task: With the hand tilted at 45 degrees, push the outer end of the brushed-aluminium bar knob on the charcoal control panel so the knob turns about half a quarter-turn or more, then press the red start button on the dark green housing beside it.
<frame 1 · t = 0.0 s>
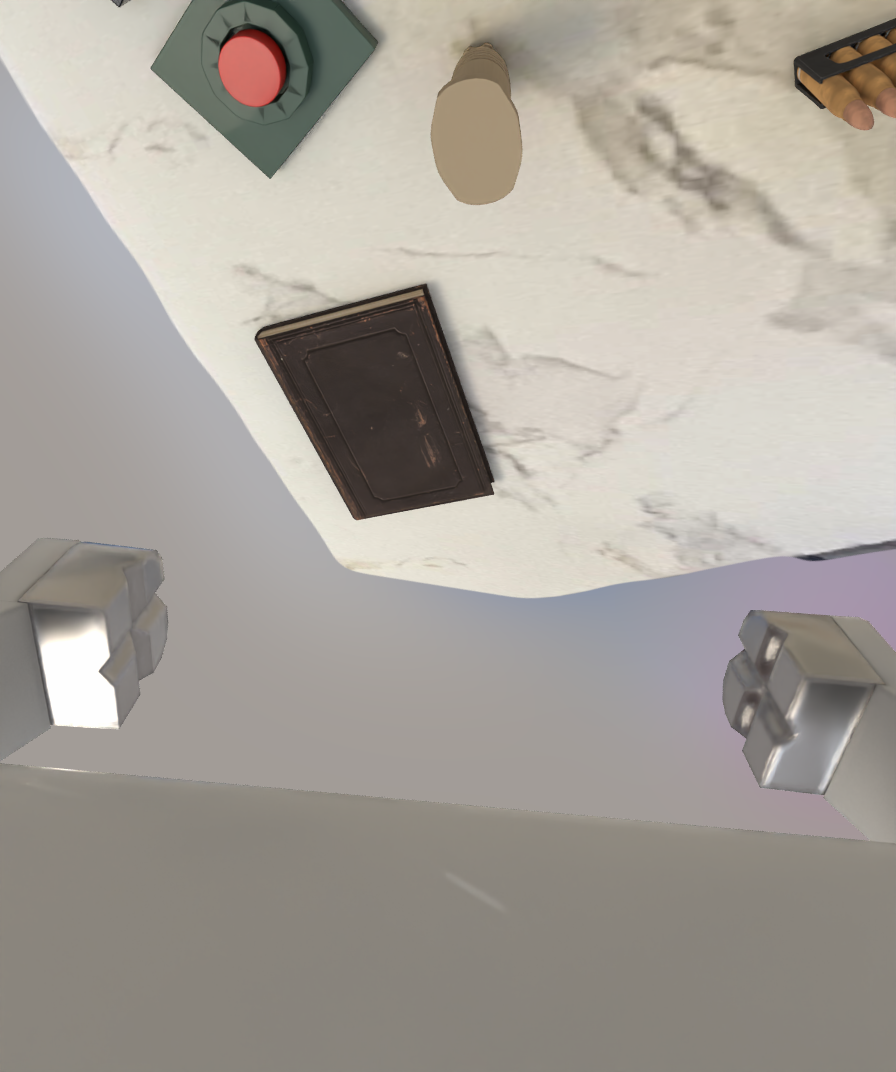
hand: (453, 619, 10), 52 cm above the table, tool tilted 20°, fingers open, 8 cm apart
button: (252, 68, 48), point 4 cm above the table, slide at 0.1 cm
ammunition clip: (879, 39, 48), on the table
hardcover book: (385, 409, 72), on the table
button box: (266, 52, 50), on the table
handle: (481, 67, 51), on the table
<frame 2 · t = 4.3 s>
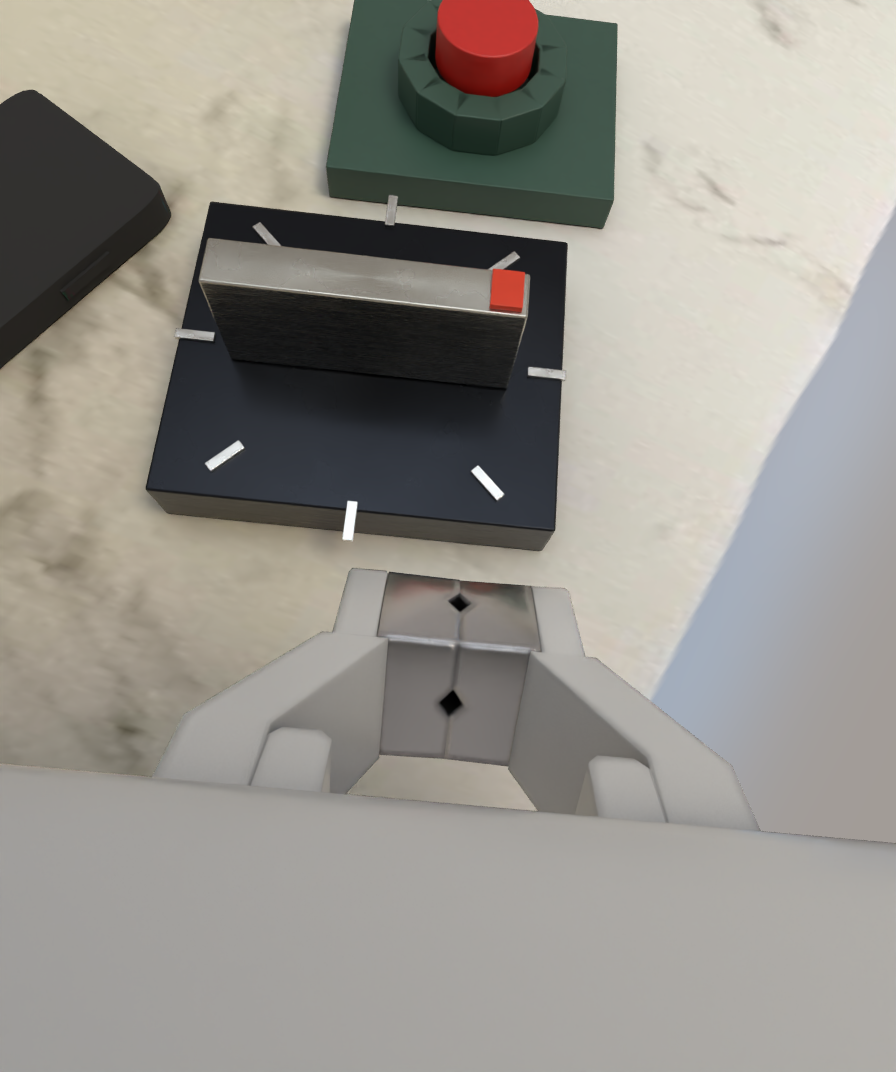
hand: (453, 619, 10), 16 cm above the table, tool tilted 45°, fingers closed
button: (485, 40, 30), point 4 cm above the table, slide at 0.1 cm
control panel: (374, 389, 29), on the table
button box: (475, 123, 33), on the table
knob: (369, 317, 24), point 5 cm above the table, hinge at 0.0°
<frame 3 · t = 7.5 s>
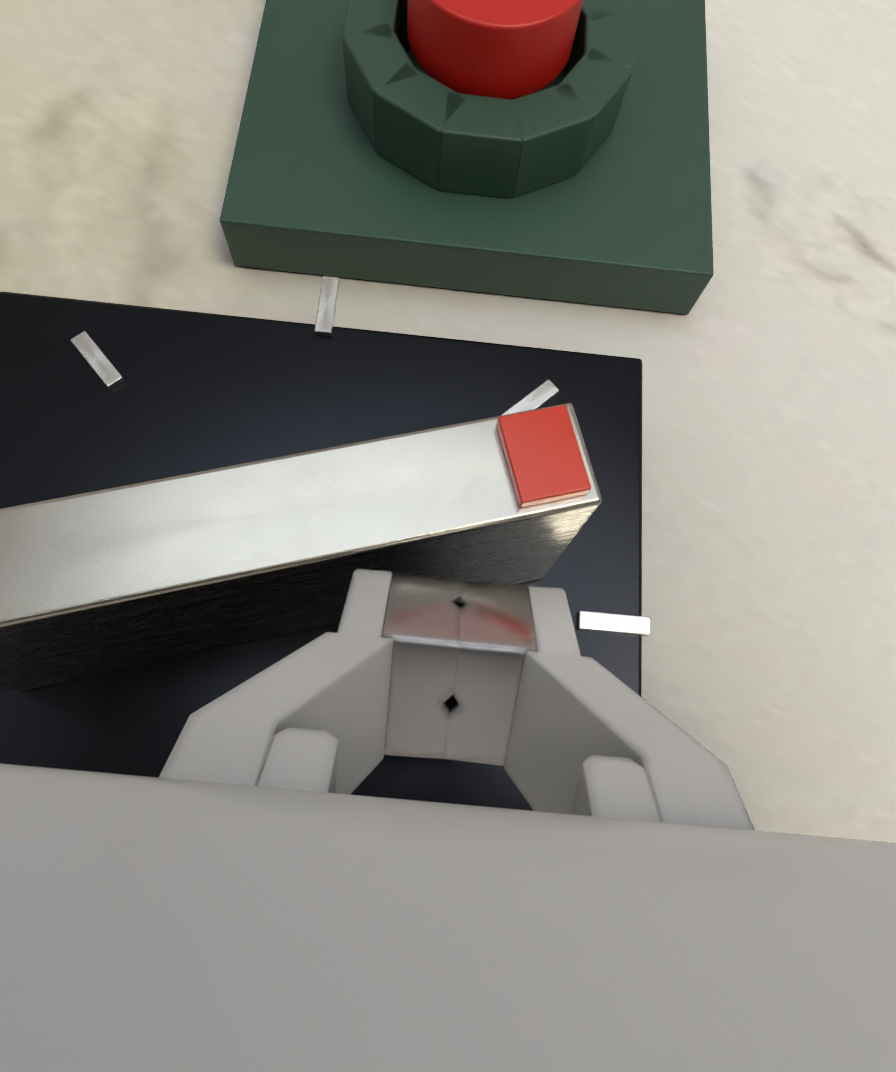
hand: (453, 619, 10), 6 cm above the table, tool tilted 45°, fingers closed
control panel: (301, 617, 16), on the table
button box: (476, 140, 21), on the table
knob: (261, 561, 12), point 5 cm above the table, hinge at 18.1°, touching gripper
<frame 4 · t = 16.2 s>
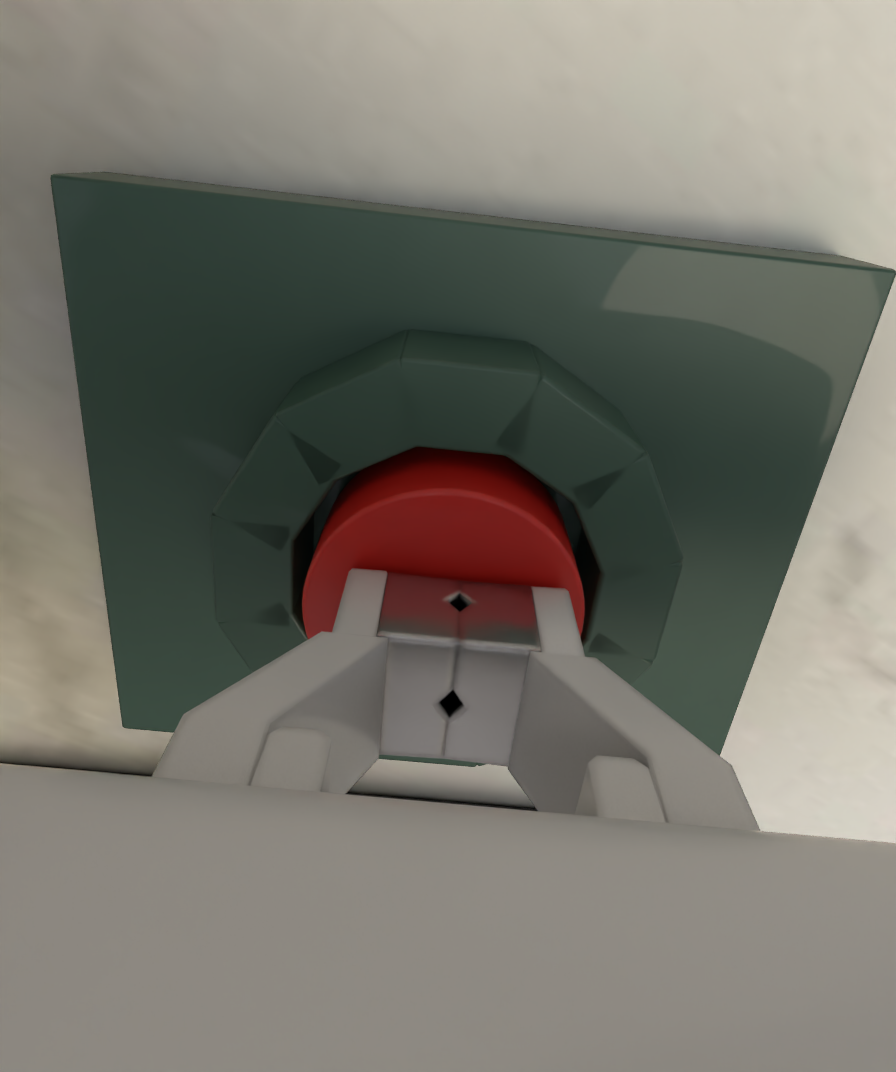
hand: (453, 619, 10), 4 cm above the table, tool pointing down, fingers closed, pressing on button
button: (444, 585, 11), point 3 cm above the table, slide at -0.6 cm, touching gripper
control panel: (288, 943, 20), on the table
button box: (447, 496, 14), on the table
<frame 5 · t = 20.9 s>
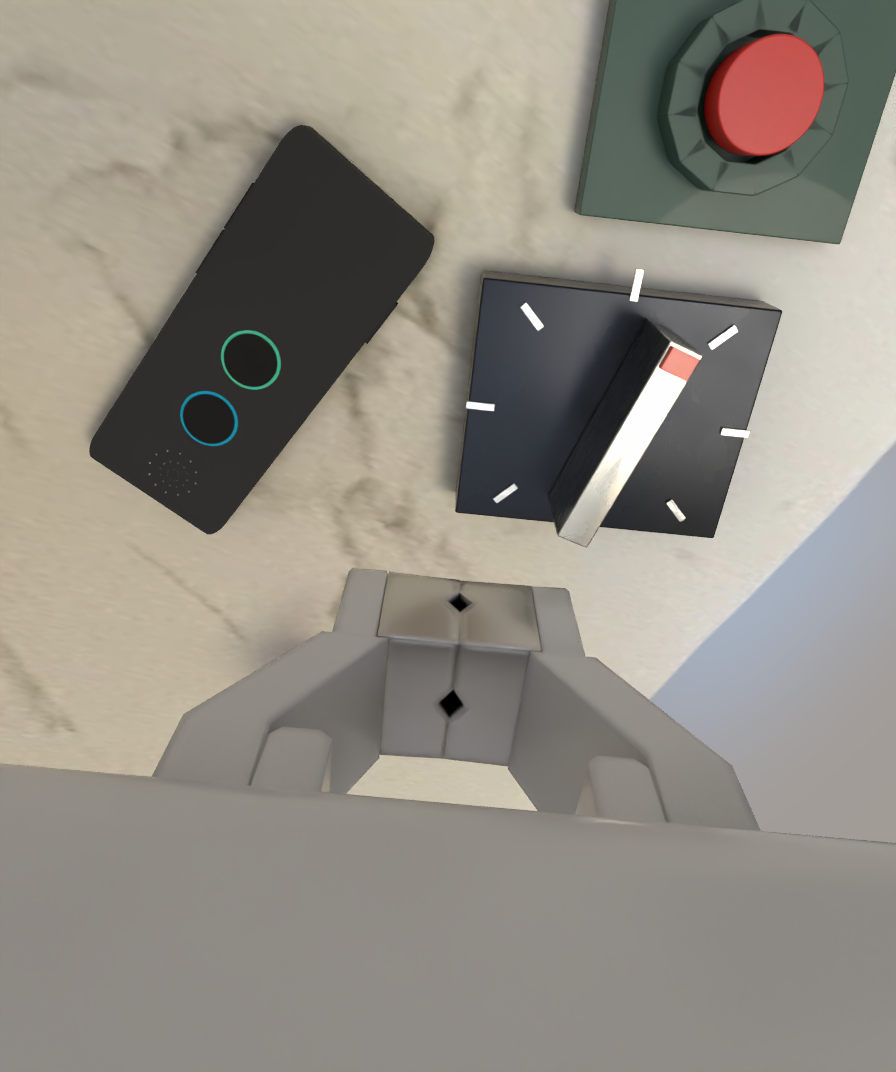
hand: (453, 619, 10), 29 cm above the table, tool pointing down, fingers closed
button: (762, 98, 29), point 4 cm above the table, slide at 0.1 cm
smart home device: (258, 347, 38), on the table
control panel: (599, 403, 39), on the table
button box: (729, 104, 32), on the table
knob: (617, 435, 34), point 5 cm above the table, hinge at 71.8°
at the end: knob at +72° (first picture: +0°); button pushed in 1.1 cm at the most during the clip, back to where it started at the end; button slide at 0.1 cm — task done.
